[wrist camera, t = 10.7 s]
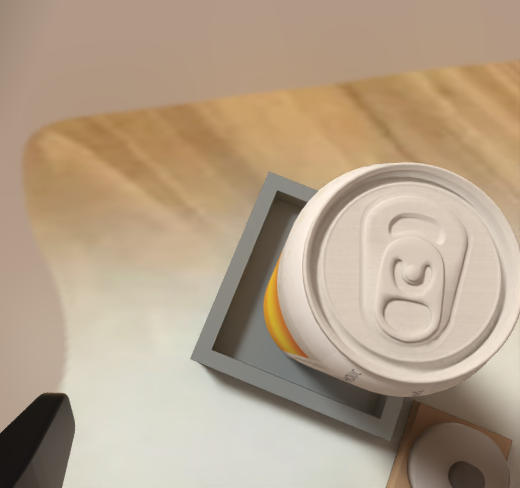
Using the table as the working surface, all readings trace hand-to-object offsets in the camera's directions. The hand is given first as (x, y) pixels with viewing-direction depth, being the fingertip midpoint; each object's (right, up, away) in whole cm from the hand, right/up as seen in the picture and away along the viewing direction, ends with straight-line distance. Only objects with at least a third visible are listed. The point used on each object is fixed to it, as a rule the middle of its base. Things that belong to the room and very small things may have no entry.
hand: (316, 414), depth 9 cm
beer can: (+2, 0, +18) cm, 18 cm away
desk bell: (+9, -9, +17) cm, 20 cm away
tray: (+2, 0, +18) cm, 18 cm away
